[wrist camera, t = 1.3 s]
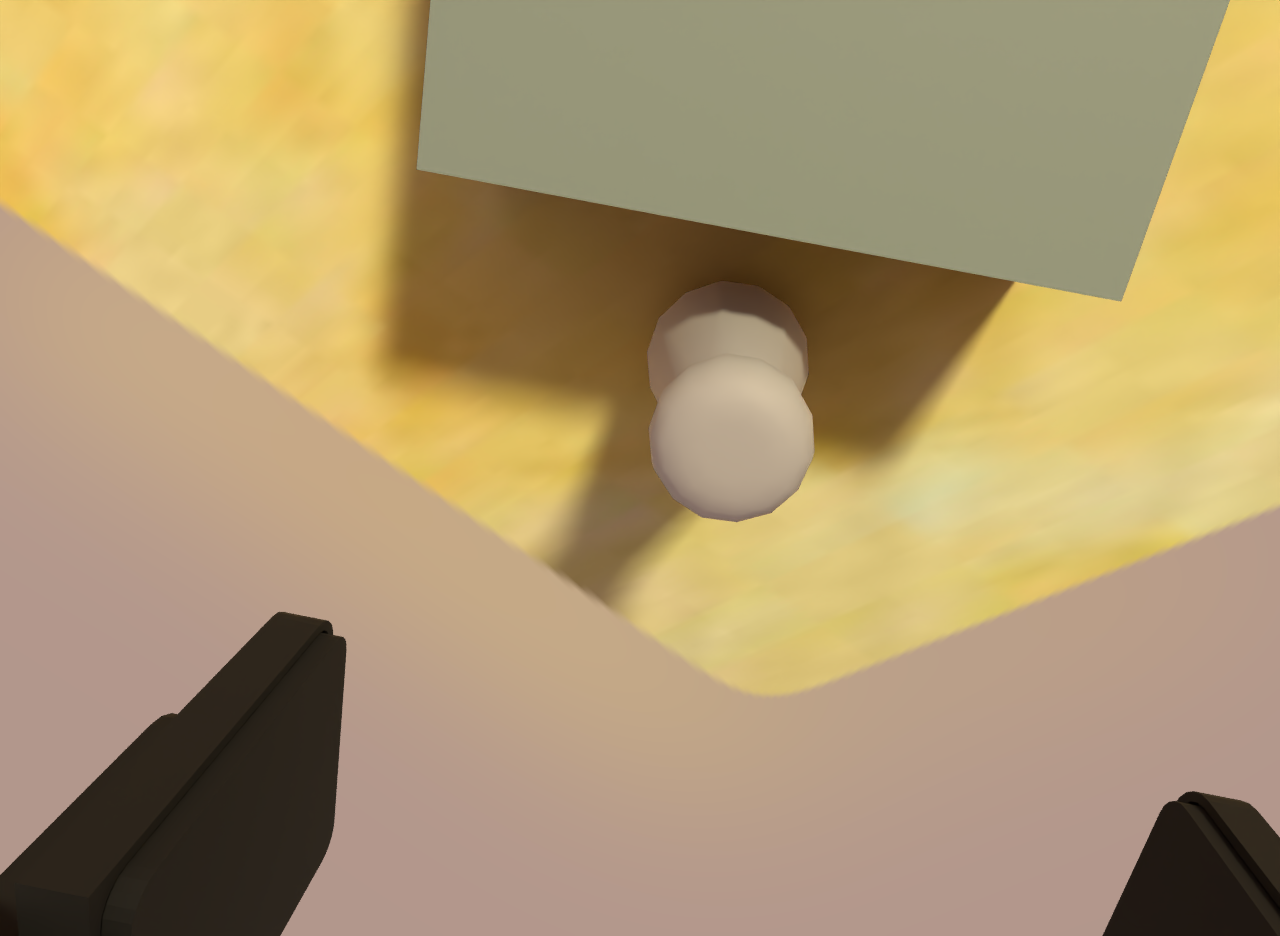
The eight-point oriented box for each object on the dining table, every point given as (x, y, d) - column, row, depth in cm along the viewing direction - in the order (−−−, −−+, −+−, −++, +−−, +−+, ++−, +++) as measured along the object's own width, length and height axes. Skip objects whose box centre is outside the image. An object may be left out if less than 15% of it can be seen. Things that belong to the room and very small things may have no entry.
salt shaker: (721, 449, 36) (722, 602, 23) (621, 347, 34) (566, 451, 22) (834, 350, 34) (899, 458, 22) (732, 239, 33) (739, 287, 21)
